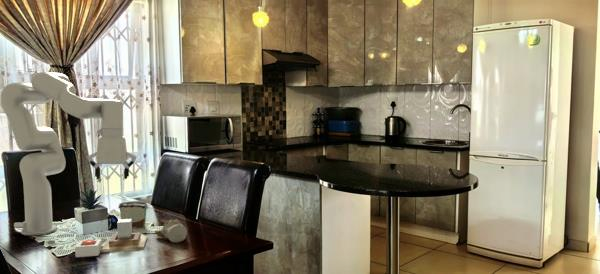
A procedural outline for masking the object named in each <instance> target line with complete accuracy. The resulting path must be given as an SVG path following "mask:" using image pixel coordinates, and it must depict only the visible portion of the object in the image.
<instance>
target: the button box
mask: <svg viewBox="0 0 600 274" xmlns="http://www.w3.org/2000/svg"><path fill="white" fill-rule="evenodd" d="M94 240H95V245H83V246H82V242H83V241H84V240H80V241H79V242H78V243H77V244H76V245H75V247H74V249H75V250H74V251H75V252H74V253H75V258H81V257H82V258H85V257H96V256H99V255H100V254H101V249H102V247H103V246H102V239H94Z"/></svg>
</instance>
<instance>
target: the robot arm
mask: <svg viewBox="0 0 600 274" xmlns="http://www.w3.org/2000/svg"><path fill="white" fill-rule="evenodd" d="M0 92H1V93H0V104H1V107H2V111H4V114H5V115H6V118H7V120H8V122H9V126H10V128H11V132H12V135H13V138H14V140H15V143H16V146H17V148H18V149H19V150H20V151H22V152H34V153H29V154H27V155H25V156H23V157H22V158H21V160H20V162H19V171H20V174H21V178H22V182H23V184H22V185H23V197H24V198H23V201H24V221H23V222H14V223H13V227H14V228H15V229H21V230H20V231H21V232H20V233H21V235H24V236H41V235H47V234H51V233H54V232H56V231H57V230H58V226H57V225H56V224H55V225H54V223H53V206H52V205H53V203H52V200H53V199H52V186H51V183H50V181H49V180H48V179H47V176H51V175H56V174H59V173H62V172H63V171H64V170H65V168H66V163H67V162H66V157H65V155H64V154H65V153H64V151H63V149H62V146H61V141H60V139H59V136H58V134H57V132H56V131H55V130H54V129H53V128H51V127H49V126H38V125H37V124H36V122H35V121H36V120H35V118H34V115H33V114H32V113H31V111H30V110H29V109H28V108H27V107H26V106H25V105H42V104H46V103H49V102H51V101H54V102H56V103H58V105H59V106H60V108H61V109H62V111H64V112H65V113H66V114H68V115H70V116H72V117H75V118H78V119H80V120H88V119H89V120H91V119H92V120H93V119H94V120H97V119H100V120H101V121H100V129H97V130H96V133H97V134H100V136H99V137H98V139H97V146H96V151H95V152H94V153H91V154H89V155H87V156H86V159H87V161H88V162H89V165H91V166H92V167H93V168H94V177H96V180H99V179H101V167H100V166H101V165H105V164H106V165H122V166H124V169H123V178H124V179H123V180H127V179H128V177H129V176H130V167H131V166H133V165H134V163H135V161H136V160H137V156H136V155H135V154H133V153H131V152H129V151H127V150H128V149H127V142H126V136H124V104H123V103H124V102H123V101H121V100H119V99H103V98H85V97H84V98H83V97H80V96H78V95H77V89H76V86H74V84H72V83H71V81H70V79H69V77H68V76H67V75H66V74H63V73H60V72H49V71H48V72H47V71H41V72H37V73H36V74H34V75H33V76H32V78H31V80H30V82H12V83H9V84H6V85H5V86H4V87H3V88H2V90H1V91H0ZM35 151H41V152H36V153H35ZM94 157H96V162H95V161H94V159H93V158H94ZM128 158H131V160H130V162H127V160H128Z"/></svg>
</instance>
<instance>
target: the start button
mask: <svg viewBox="0 0 600 274" xmlns="http://www.w3.org/2000/svg"><path fill="white" fill-rule="evenodd" d="M95 240H96V239H85V240H82V241H83V242H82V246H83V245H95Z"/></svg>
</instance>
